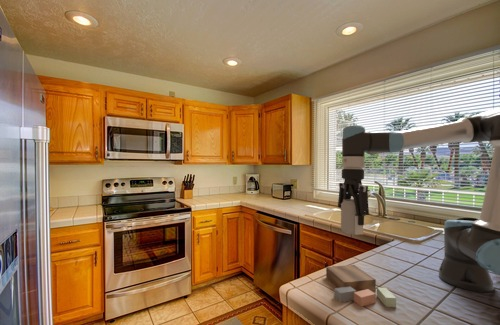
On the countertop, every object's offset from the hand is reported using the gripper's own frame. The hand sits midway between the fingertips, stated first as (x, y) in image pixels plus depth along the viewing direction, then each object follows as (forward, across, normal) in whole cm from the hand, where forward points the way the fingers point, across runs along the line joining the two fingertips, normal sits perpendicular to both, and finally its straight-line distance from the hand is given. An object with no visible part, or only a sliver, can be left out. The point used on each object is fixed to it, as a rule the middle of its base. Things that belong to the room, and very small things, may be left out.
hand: (351, 230), depth 85 cm
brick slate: (+20, +8, -7) cm, 23 cm away
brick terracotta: (+20, +11, -2) cm, 23 cm away
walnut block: (+20, 0, 0) cm, 20 cm away
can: (+1, 0, 0) cm, 1 cm away
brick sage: (+20, +12, +5) cm, 23 cm away
